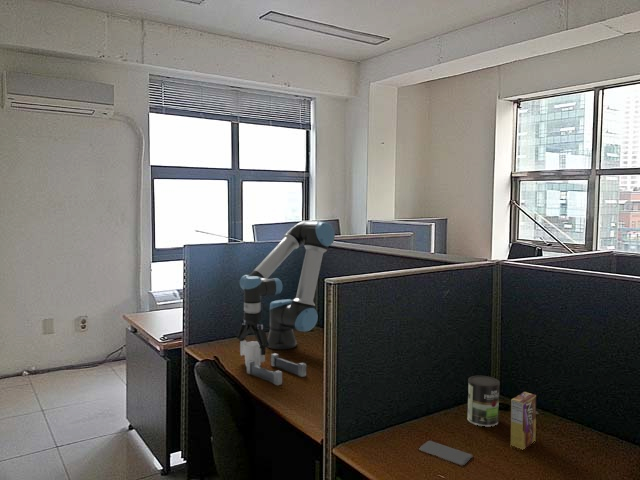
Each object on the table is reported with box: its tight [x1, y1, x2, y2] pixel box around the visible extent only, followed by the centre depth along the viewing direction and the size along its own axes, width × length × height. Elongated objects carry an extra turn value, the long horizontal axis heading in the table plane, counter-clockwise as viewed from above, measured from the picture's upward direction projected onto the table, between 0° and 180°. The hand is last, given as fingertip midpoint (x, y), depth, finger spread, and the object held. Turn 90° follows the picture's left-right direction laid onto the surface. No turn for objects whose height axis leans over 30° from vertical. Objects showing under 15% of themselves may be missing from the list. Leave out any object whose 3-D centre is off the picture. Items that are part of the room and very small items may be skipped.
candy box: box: [510, 391, 537, 450], centre depth 161 cm, size 9×4×15 cm, turn 133°
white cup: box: [244, 340, 262, 368], centre depth 234 cm, size 8×8×10 cm
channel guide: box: [246, 352, 307, 386], centre depth 223 cm, size 16×20×5 cm
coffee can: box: [466, 375, 501, 428], centre depth 178 cm, size 10×10×14 cm
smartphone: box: [418, 440, 474, 466], centre depth 156 cm, size 8×1×15 cm
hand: (252, 358), depth 234 cm, fingers open, 13 cm apart
